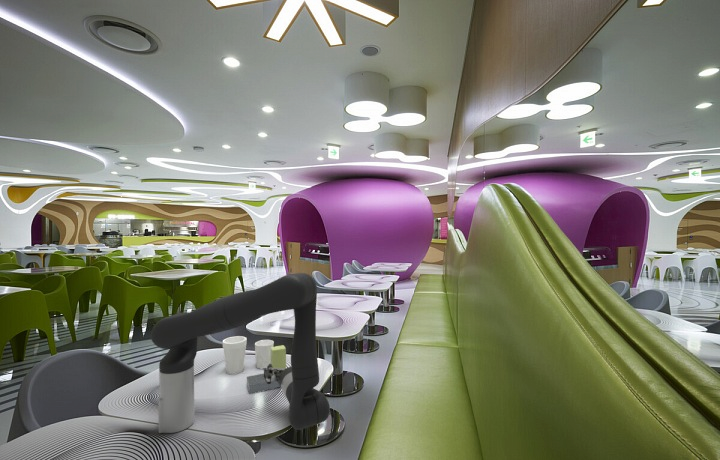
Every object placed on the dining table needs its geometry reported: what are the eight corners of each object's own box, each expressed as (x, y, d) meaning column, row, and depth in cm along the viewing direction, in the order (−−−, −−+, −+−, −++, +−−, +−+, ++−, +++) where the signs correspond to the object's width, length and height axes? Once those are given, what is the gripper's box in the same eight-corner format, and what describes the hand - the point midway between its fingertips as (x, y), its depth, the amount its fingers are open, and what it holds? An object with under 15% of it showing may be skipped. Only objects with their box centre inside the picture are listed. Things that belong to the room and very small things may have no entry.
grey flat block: (249, 393, 119) (249, 385, 119) (246, 384, 126) (246, 376, 126) (308, 381, 128) (308, 373, 128) (303, 373, 136) (303, 366, 136)
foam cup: (222, 368, 141) (222, 338, 141) (245, 364, 145) (245, 335, 145) (223, 377, 132) (223, 345, 132) (247, 373, 136) (247, 341, 136)
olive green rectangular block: (272, 385, 124) (272, 350, 124) (270, 380, 128) (270, 347, 128) (286, 382, 127) (285, 348, 127) (283, 378, 130) (283, 345, 130)
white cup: (270, 369, 140) (270, 345, 140) (252, 369, 140) (252, 345, 140) (276, 362, 147) (275, 339, 147) (258, 362, 148) (258, 339, 148)
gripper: (316, 368, 105) (302, 350, 120) (270, 376, 99) (261, 357, 113) (315, 391, 105) (301, 371, 120) (269, 401, 99) (261, 378, 113)
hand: (282, 364), depth 116 cm, fingers open, 8 cm apart
